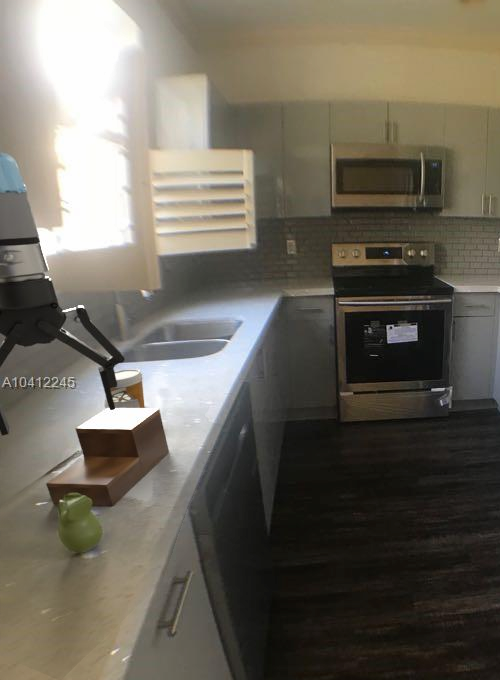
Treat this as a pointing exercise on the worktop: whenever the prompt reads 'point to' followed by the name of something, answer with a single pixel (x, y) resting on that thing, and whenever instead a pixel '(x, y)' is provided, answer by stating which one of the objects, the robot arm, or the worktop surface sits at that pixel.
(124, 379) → the disposable coffee cup
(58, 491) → the wooden step stand
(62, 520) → the pear
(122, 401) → the food container
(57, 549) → the worktop surface
